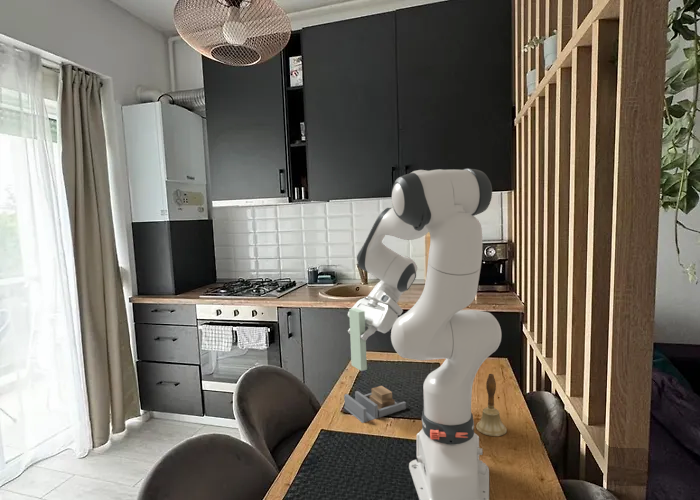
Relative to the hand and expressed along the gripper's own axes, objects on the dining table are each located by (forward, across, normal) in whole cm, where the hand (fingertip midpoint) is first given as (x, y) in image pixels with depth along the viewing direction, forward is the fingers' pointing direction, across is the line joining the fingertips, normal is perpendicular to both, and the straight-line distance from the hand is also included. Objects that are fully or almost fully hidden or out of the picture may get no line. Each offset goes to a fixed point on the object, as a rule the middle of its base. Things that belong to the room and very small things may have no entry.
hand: (355, 336), depth 124 cm
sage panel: (+6, 0, +8) cm, 10 cm away
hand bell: (-2, +27, +38) cm, 47 cm away
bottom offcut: (+11, 0, +23) cm, 26 cm away
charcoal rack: (+14, 0, +22) cm, 26 cm away
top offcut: (+9, 0, +22) cm, 23 cm away
